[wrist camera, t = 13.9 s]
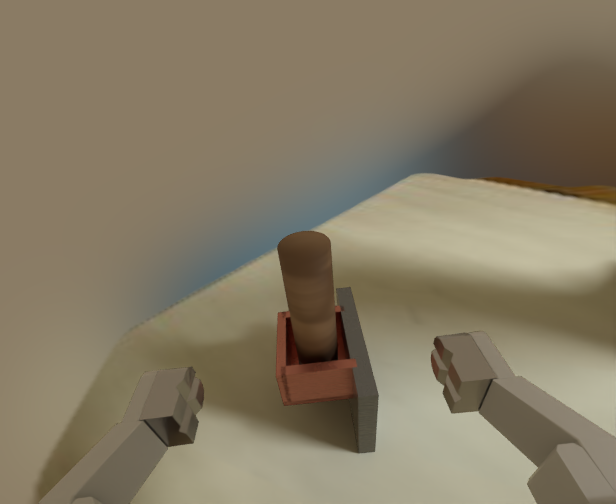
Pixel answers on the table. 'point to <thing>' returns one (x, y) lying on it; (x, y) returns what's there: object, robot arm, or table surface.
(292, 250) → the brown cylinder
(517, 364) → the table surface
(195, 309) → the table surface
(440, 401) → the table surface
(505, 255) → the table surface
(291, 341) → the drawer
